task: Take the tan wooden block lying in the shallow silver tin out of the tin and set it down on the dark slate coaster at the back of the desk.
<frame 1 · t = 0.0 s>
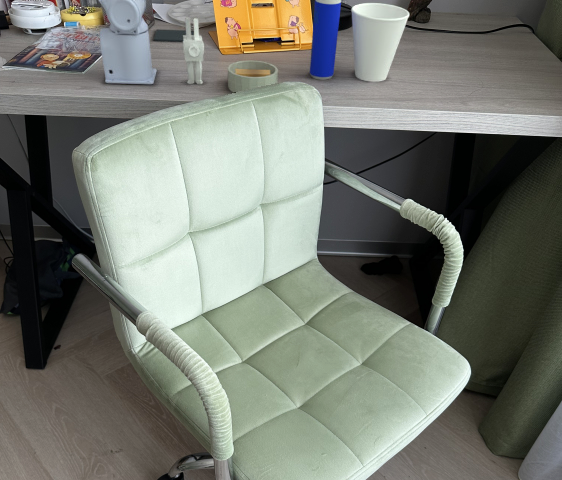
beverage can: (321, 77, 124), on the table
coaster: (174, 36, 138), on the table
tan wooden block: (252, 85, 117), resting on tin
toy robot: (195, 85, 117), on the table
cup: (370, 77, 125), on the table
tin: (252, 87, 117), on the table
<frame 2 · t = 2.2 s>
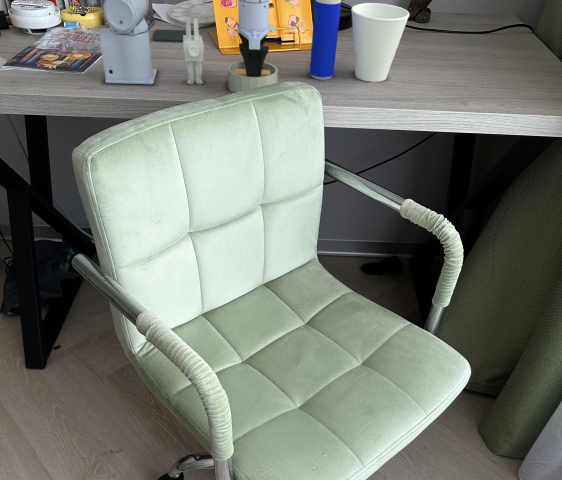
hand: (253, 77, 116), 2 cm above the table, tool pointing down
nothing on the table moved.
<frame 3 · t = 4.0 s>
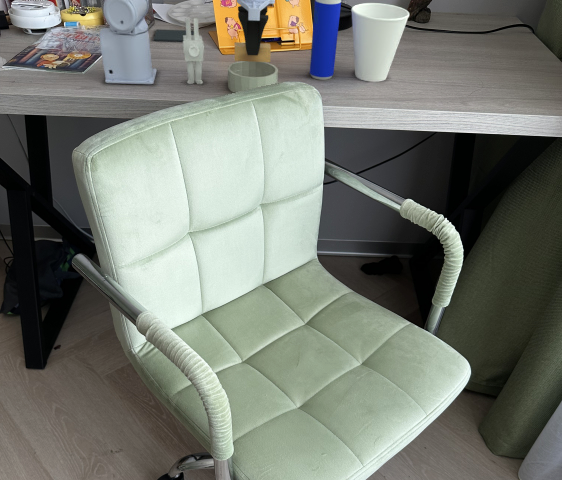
hand: (252, 52, 113), 7 cm above the table, tool pointing down, fingers closed on tan wooden block, 2 cm apart
tan wooden block: (252, 59, 114), point 5 cm above the table, touching gripper
everything else where it was.
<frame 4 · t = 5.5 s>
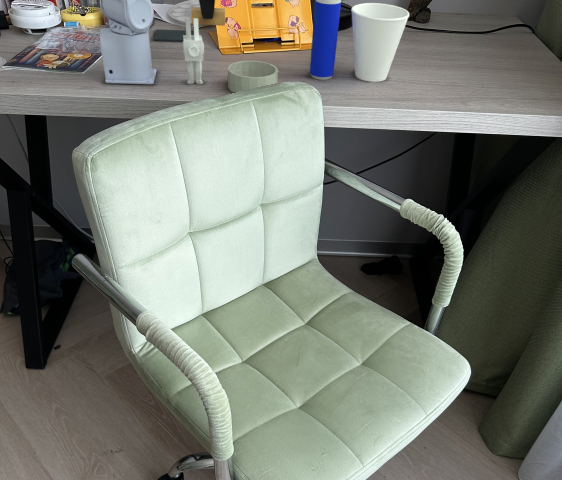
hand: (208, 16, 122), 8 cm above the table, tool pointing down, fingers closed on tan wooden block, 2 cm apart
tan wooden block: (208, 23, 123), point 7 cm above the table, touching gripper
everything else where it was.
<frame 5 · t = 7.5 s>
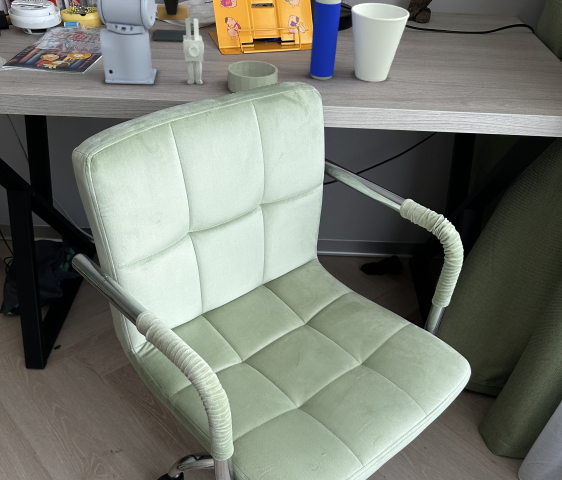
hand: (172, 12, 134), 5 cm above the table, tool pointing down, fingers closed on tan wooden block, 2 cm apart
tan wooden block: (173, 18, 135), point 4 cm above the table, touching gripper
everything else where it was.
when the fingers open (2 cm above the table, at t = 8.7 s): tan wooden block stays where it is, resting on coaster.
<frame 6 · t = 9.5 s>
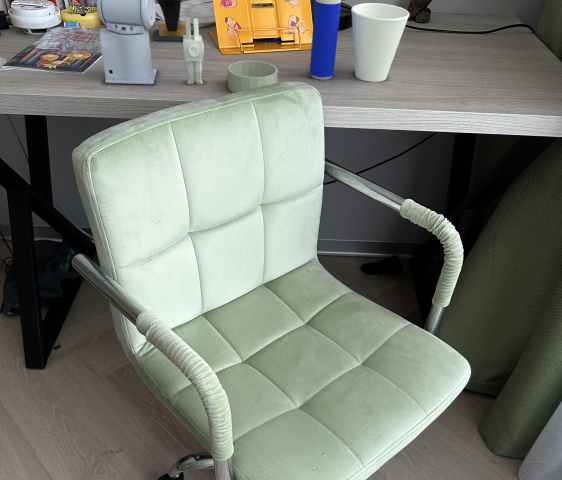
hand: (173, 26, 136), 2 cm above the table, tool pointing down, fingers open, 7 cm apart
tan wooden block: (174, 34, 137), resting on coaster
everything else where it was.
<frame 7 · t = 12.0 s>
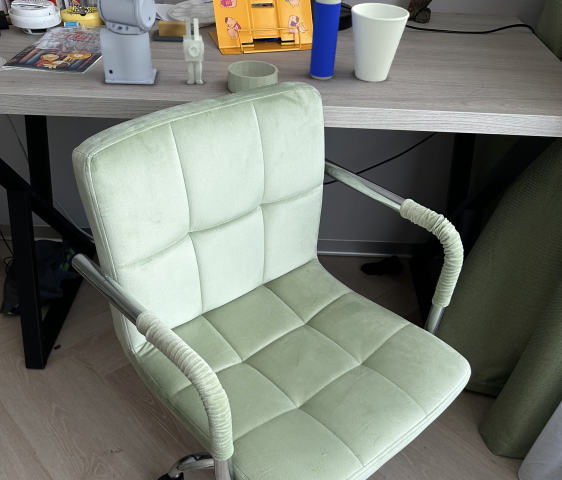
nothing on the table moved.
at the end: tan wooden block inside the target area on the coaster (0.1 cm from its centre), point 0.4 cm above the coaster's base; the gripper is holding nothing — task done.
